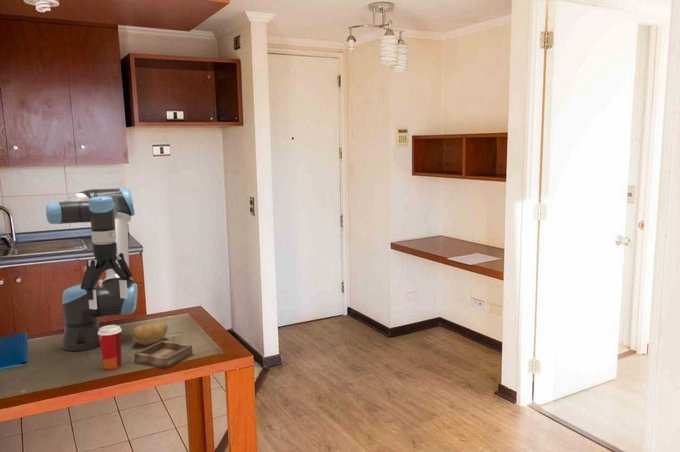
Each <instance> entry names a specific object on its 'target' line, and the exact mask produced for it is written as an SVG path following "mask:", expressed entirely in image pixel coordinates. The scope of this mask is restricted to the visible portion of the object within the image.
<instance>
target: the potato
mask: <svg viewBox="0 0 680 452" xmlns="http://www.w3.org/2000/svg"><path fill="white" fill-rule="evenodd" d="M168 328H169V327H168V325H167V323H165V322H163V321H157V322H151V323H146V324H142V325H138V326H136V327H134V328H133V330H132V334H131V335H132V338H133V340H134V341H135V343H138V344H139V345H143V346H144V345H145V346H152V345H154V344H156V343H158V342H160V341H162V339H163V338H164V337H165V335H166V334H167V332H168Z"/></svg>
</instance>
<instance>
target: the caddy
mask: <svg viewBox="0 0 680 452" xmlns="http://www.w3.org/2000/svg"><path fill="white" fill-rule="evenodd" d="M192 355H193V345H190V344H185V343H179V342H173V341H167V340H159V341H158V342H156V343H155V344H151V345H148V346H147V347H144V348H143V349H141V350H139V351H136V352H134V363H135V364H140V365H143V366H149V367H155V368H159V369H165V370H166V369H168V368H171V367H172V366H174V365H176V364H178V363H179V362H181V361H184V360H186V359H188V358H189V357H191V356H192Z"/></svg>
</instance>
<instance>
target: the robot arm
mask: <svg viewBox="0 0 680 452" xmlns="http://www.w3.org/2000/svg"><path fill="white" fill-rule="evenodd" d="M45 215H46V220H47V223H49V224H51V225H61V224H62V225H65V224H77V223H78V224H80V223H85V224H86V223H90V228H91V230H90V231H91V232H90V233H91V243H93V244H92V253H93V256H94V259H87V260H86V267H85V272H84V274H83V278H82V281H81V283H80V284H76V285H72V286H71V287H68V288H66V289H65V290H64V291H63V292H62V302H61V304H62V306H63V307H62V310H63V317H64V332H63V334H62V339H61V349H62V350H64V351H68V352H79V351H80V352H81V351H86V350H91V349H94V348H97V347H101V345H100V339H99V335H98V332H99V329H100V328H101V326H100V325H99V318H100V317H101V318H102V317H110V316H111V317H112V316H124V315H129V314H133V313H134V312H135V311H136V308H137V302H138V284H137V283H134V279H133V278H132V276H133V273H132V271H131V269H130V261H129V259H130V258H129V257H130V256H129V233H128V232H129V231H128V229H129V227H128V223H129V222H131V220H132V217H133V216H135V215H136V214H135V208H134V202H133V198H132V193H131V190H130V189H128V188H120V187H117V188H101V189H99V188H98V189H96V188H95V189H94V188H92V189H86V190H82V191H79V192H75V193H74V194H71V195H70V196H68V198H67V199H66V200H64V201H53V202H48V203H47V205H46V207H45ZM104 271H105V278H104V279H103V280H102V281H101V286H96V285H97V284H98V281H99V280H100V277H101V275H102V274H103V273H104Z"/></svg>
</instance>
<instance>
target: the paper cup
mask: <svg viewBox="0 0 680 452" xmlns="http://www.w3.org/2000/svg"><path fill="white" fill-rule="evenodd" d="M122 331H123V330H122V327H121V326H120V325H118V324H109V325H104V326H100V329H99V332H98V335H99V339H100V351H101V356H102V357H101V358H102V359H101V360H102V364H103V369H104V370H108V371H109V370H111V371H112V370H116V369H118V368H121V366H122Z"/></svg>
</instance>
